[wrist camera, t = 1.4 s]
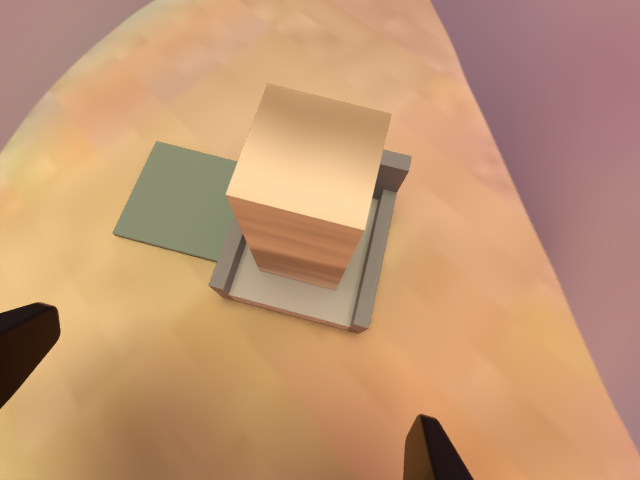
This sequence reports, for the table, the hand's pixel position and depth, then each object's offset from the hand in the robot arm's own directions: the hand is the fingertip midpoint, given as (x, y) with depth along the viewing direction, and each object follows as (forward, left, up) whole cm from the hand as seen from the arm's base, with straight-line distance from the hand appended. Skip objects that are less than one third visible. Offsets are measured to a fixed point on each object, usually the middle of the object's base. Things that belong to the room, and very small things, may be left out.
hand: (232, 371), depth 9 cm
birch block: (+7, 0, -11) cm, 13 cm away
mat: (+9, +8, -13) cm, 18 cm away
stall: (+7, 0, -13) cm, 15 cm away
